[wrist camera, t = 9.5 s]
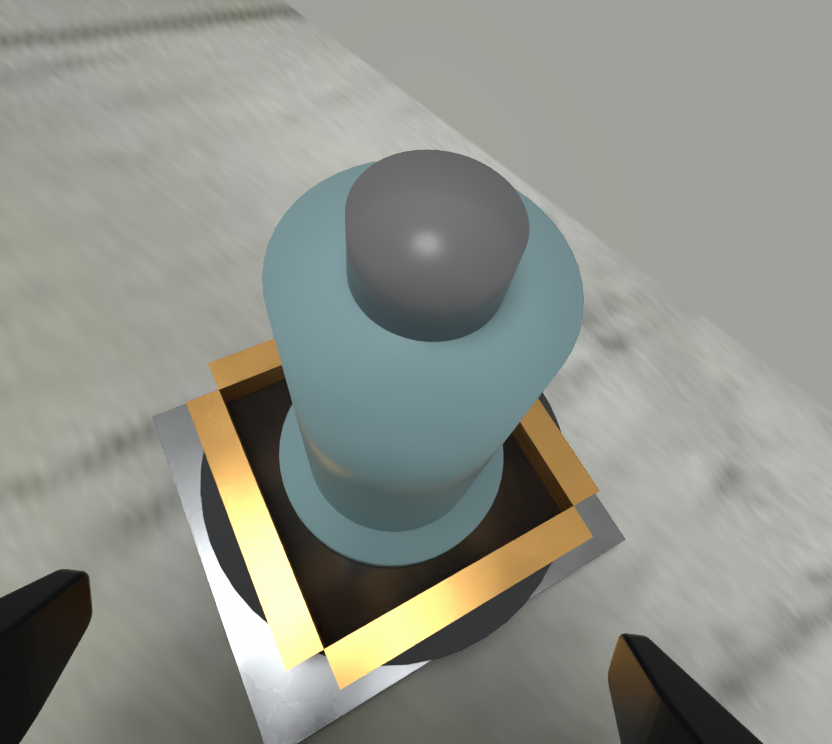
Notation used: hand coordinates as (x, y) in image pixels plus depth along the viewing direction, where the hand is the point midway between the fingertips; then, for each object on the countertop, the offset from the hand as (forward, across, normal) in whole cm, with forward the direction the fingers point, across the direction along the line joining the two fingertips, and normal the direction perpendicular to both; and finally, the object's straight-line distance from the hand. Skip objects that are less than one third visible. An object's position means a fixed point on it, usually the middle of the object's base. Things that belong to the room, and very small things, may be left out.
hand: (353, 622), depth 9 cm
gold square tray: (+14, 0, +5) cm, 15 cm away
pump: (+11, 0, +3) cm, 11 cm away
